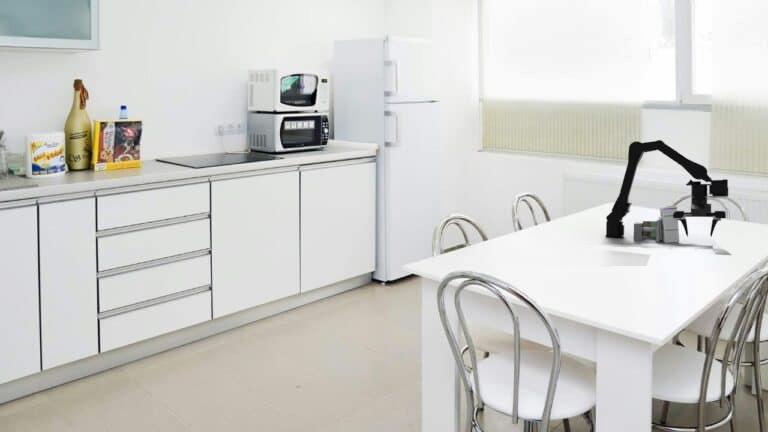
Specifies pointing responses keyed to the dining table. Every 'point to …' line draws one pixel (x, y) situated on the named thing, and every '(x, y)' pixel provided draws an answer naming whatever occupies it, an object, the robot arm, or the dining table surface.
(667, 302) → the dining table surface
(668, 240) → the syrup box
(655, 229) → the gauge plunger
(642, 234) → the gauge housing
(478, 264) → the dining table surface
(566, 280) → the dining table surface
